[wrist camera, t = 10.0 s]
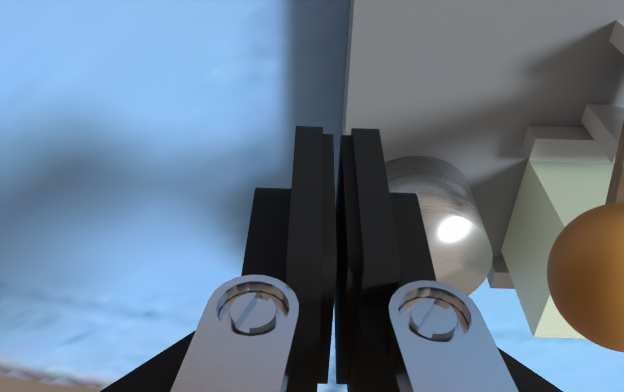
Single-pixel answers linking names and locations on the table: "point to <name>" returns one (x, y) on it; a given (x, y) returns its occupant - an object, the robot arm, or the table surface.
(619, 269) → the lever
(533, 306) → the slider green
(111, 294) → the table surface
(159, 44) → the table surface
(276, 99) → the table surface
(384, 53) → the panel
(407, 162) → the button
